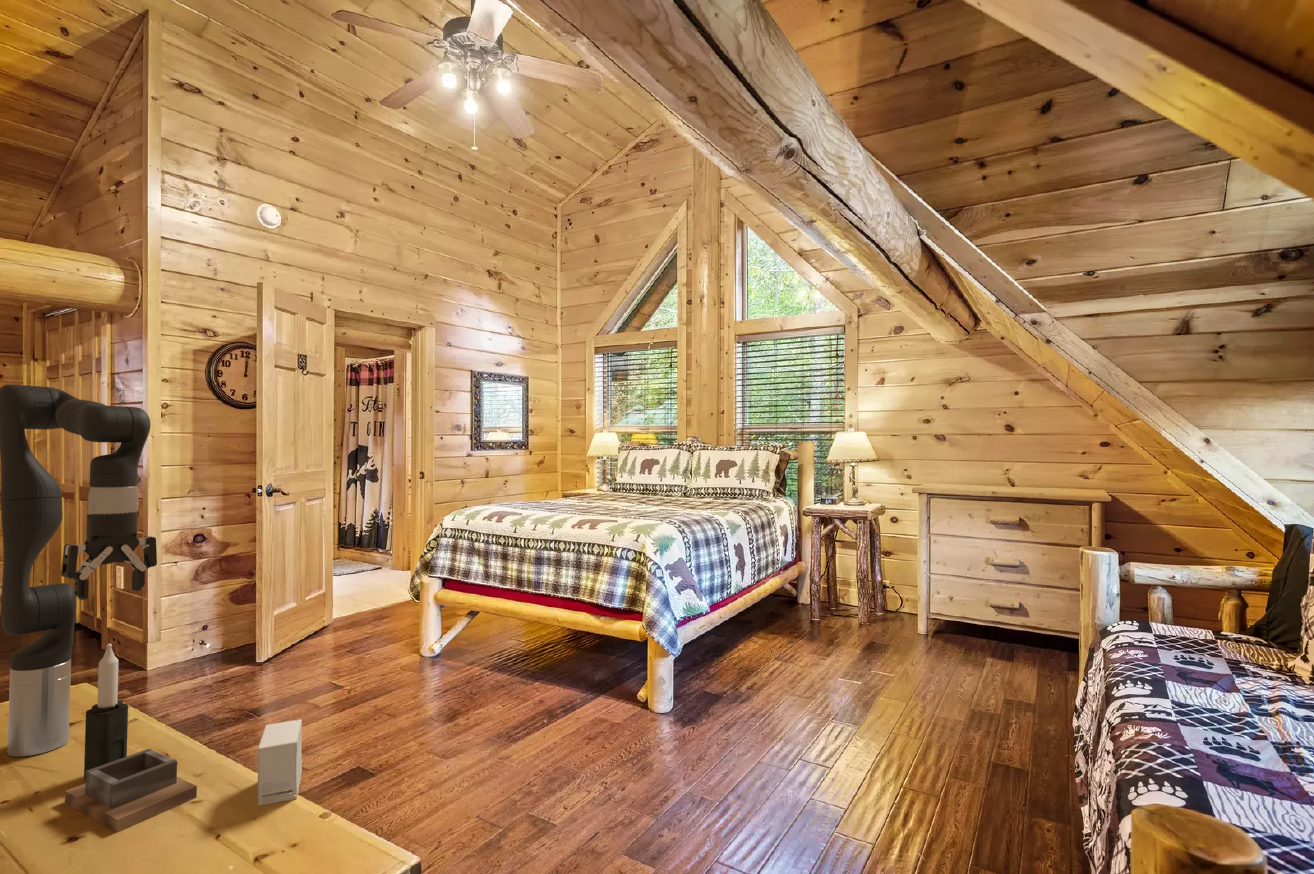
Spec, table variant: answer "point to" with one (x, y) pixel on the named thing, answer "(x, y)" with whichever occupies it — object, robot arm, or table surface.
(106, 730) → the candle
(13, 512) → the robot arm
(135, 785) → the socket board
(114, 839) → the table surface
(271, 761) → the skincare box
